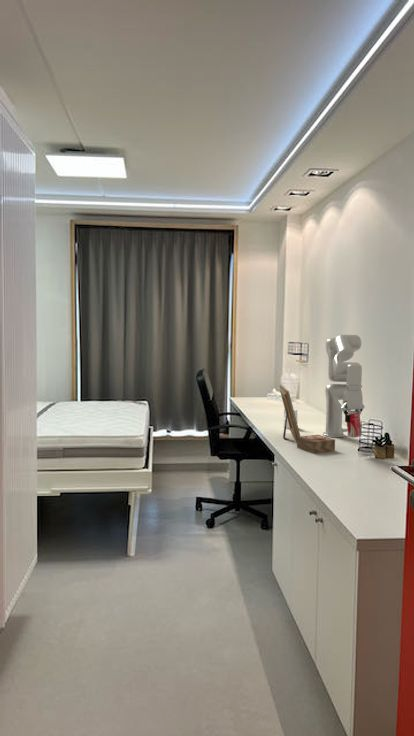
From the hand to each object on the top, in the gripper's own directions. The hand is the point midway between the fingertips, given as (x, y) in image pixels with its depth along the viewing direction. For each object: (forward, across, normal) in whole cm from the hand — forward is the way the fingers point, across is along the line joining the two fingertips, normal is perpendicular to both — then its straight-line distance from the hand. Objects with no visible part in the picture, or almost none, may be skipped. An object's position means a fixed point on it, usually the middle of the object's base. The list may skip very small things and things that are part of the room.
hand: (352, 421), depth 279 cm
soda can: (+8, -2, 0) cm, 8 cm away
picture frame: (+17, +11, -39) cm, 44 cm away
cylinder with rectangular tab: (+18, -10, -67) cm, 70 cm away
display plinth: (+16, +14, -11) cm, 24 cm away
